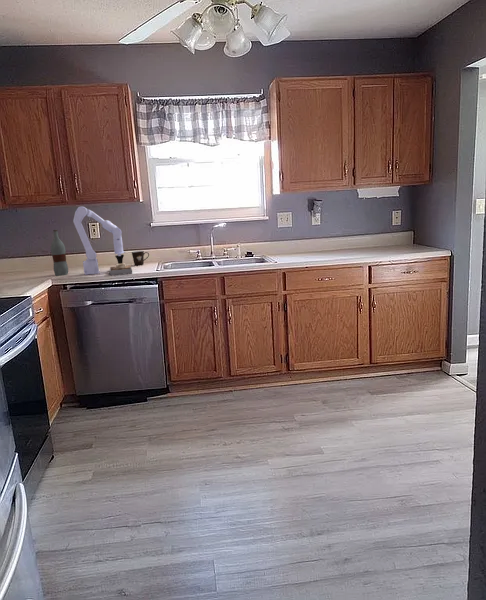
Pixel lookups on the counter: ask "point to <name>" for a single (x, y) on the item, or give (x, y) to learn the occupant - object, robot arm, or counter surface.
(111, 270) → the plate
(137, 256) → the coffee mug
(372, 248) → the counter surface
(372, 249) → the counter surface
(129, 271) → the box
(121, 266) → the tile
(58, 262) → the bottle
